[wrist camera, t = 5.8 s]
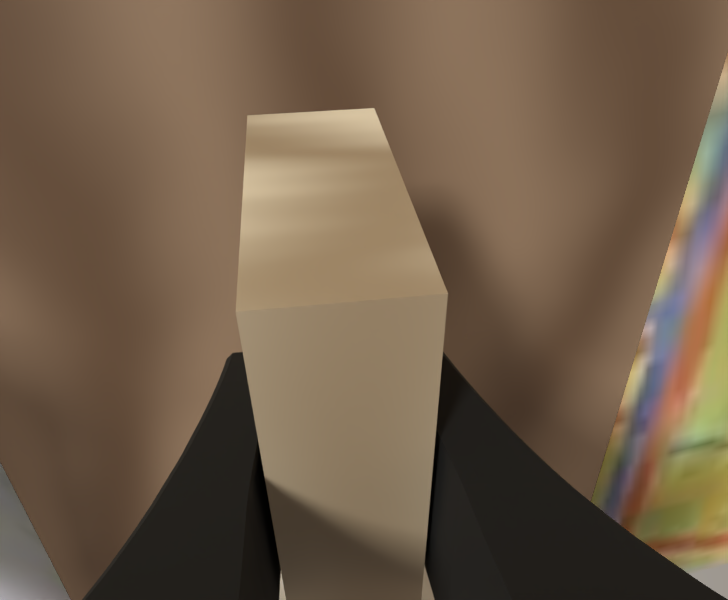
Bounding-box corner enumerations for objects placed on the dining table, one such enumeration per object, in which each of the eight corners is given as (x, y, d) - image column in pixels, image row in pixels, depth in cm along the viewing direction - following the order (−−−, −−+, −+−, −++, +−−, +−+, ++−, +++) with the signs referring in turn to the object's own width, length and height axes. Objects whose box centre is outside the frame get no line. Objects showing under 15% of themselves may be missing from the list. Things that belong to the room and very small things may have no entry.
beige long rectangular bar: (299, 523, 16) (311, 744, 12) (247, 115, 10) (234, 313, 6) (375, 513, 16) (409, 729, 13) (374, 107, 10) (448, 293, 6)
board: (93, 608, 25) (87, 632, 25) (-379, -372, 10) (-440, -396, 9) (560, 549, 27) (569, 569, 27) (812, -347, 12) (855, -364, 11)
